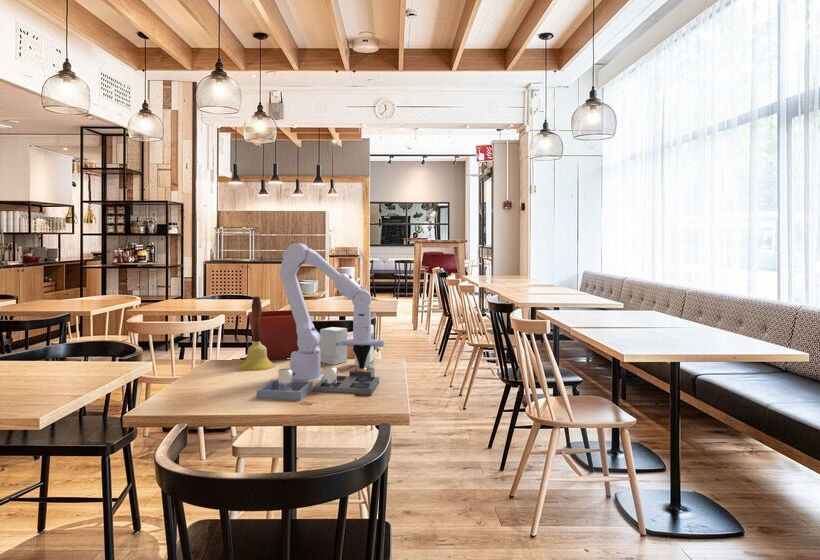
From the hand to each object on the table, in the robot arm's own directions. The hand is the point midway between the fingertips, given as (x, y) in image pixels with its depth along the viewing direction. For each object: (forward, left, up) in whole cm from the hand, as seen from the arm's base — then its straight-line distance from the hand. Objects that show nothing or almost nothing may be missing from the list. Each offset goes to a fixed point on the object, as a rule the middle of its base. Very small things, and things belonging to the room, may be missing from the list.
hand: (362, 368), depth 197 cm
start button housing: (0, 0, -3) cm, 3 cm away
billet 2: (-7, -17, -3) cm, 19 cm away
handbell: (-40, +13, -4) cm, 42 cm away
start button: (0, 0, -3) cm, 3 cm away
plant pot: (-39, +32, -4) cm, 51 cm away
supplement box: (-15, +24, -4) cm, 29 cm away
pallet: (-2, -13, -3) cm, 14 cm away
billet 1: (-18, -24, -3) cm, 30 cm away
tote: (-18, -24, -3) cm, 30 cm away
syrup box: (-3, +21, -4) cm, 22 cm away
